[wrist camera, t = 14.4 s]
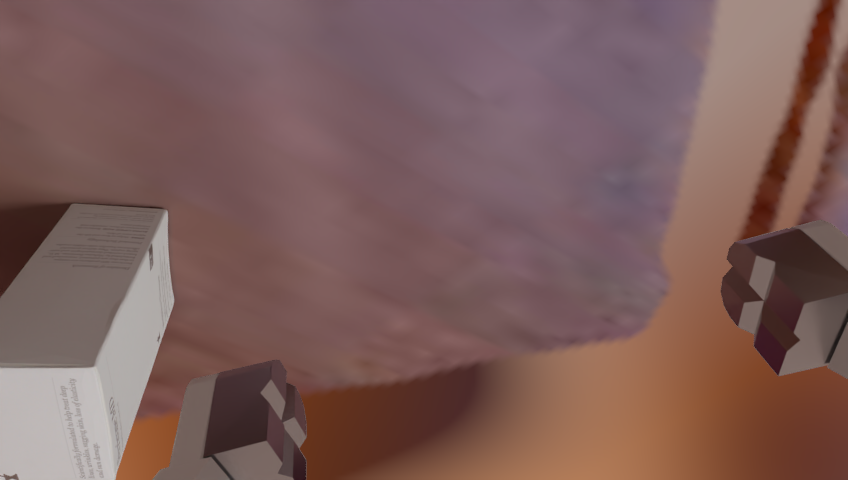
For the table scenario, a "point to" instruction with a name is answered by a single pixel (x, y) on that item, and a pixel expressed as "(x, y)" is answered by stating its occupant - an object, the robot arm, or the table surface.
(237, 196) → the table surface
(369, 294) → the table surface
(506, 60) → the table surface
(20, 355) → the skincare box
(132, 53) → the table surface
